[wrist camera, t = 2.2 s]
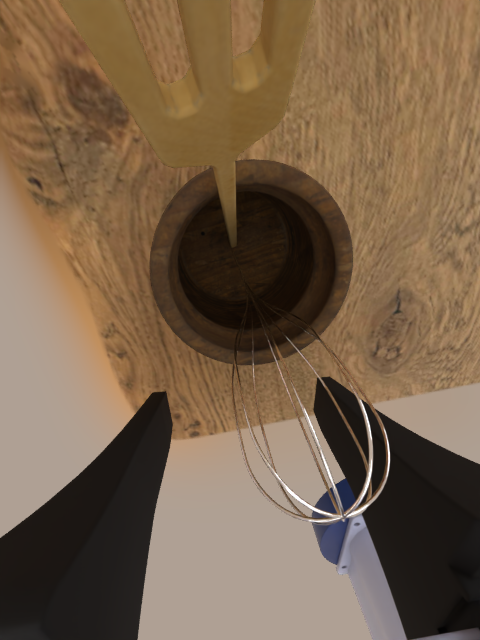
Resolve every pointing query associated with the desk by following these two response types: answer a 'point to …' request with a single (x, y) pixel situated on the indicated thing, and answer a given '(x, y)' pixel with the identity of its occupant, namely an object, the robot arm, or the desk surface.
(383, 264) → the desk surface
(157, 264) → the utensil holder
